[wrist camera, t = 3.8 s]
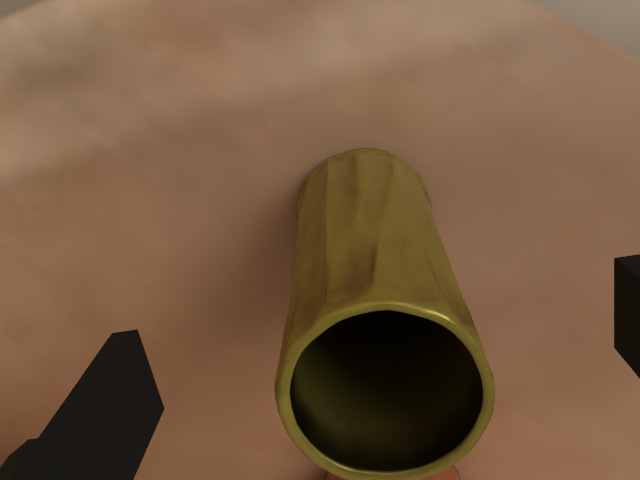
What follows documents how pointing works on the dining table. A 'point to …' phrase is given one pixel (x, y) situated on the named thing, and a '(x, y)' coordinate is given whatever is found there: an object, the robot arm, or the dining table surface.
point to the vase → (378, 329)
